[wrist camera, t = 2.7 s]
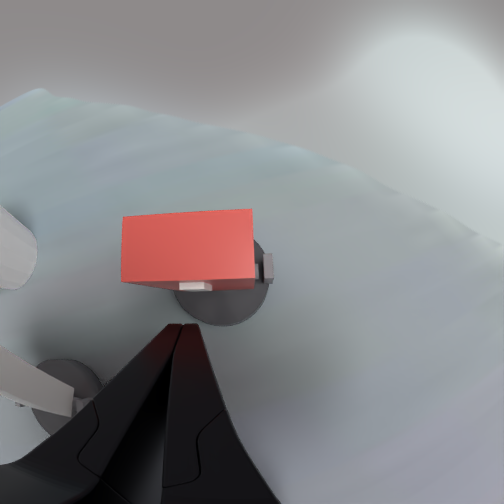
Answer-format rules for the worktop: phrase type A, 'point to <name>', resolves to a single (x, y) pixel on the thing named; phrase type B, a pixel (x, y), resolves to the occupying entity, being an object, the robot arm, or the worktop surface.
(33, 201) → the worktop surface
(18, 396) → the block
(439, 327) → the worktop surface
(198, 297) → the dark rounded piece
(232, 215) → the block
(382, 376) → the worktop surface
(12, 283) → the shot glass
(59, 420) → the grey switch base
